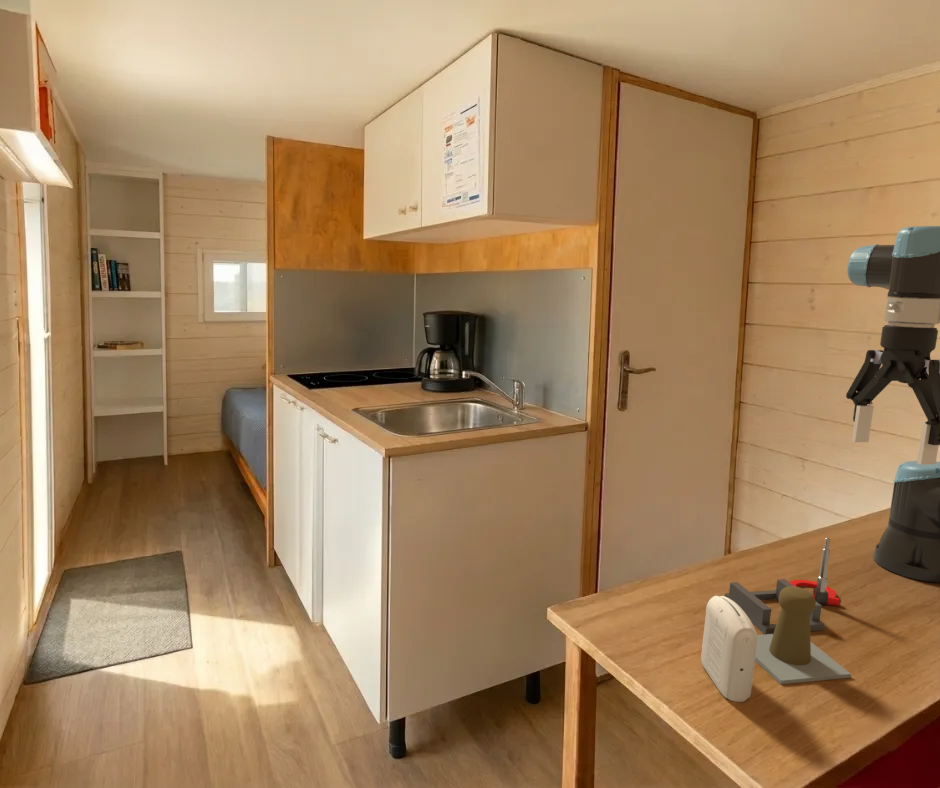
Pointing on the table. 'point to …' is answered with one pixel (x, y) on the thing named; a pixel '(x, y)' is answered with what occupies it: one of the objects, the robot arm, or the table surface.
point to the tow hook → (821, 581)
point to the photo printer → (729, 648)
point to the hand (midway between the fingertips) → (891, 452)
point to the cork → (793, 626)
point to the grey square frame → (761, 611)
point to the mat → (789, 673)
